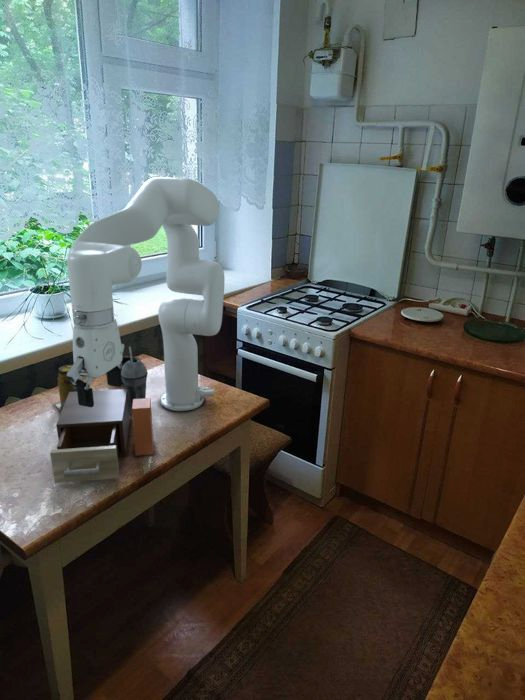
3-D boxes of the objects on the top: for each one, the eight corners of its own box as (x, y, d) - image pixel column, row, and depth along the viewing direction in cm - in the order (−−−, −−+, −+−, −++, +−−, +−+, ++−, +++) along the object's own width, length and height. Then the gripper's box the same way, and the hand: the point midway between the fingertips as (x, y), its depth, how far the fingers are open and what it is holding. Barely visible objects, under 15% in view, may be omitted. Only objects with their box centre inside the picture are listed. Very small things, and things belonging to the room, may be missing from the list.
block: (153, 443, 126) (150, 397, 121) (153, 454, 121) (150, 407, 117) (136, 444, 125) (133, 398, 120) (135, 455, 121) (131, 408, 116)
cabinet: (125, 455, 121) (122, 420, 117) (61, 460, 118) (56, 424, 114) (129, 420, 136) (127, 388, 132) (73, 424, 133) (69, 391, 130)
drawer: (117, 491, 107) (114, 460, 104) (50, 496, 104) (45, 465, 101) (124, 440, 125) (121, 413, 122) (67, 444, 123) (63, 416, 120)
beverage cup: (154, 407, 143) (151, 342, 136) (141, 418, 137) (136, 352, 129) (132, 402, 146) (128, 339, 138) (118, 413, 139) (112, 348, 132)
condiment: (80, 398, 147) (75, 361, 142) (91, 409, 141) (86, 371, 136) (55, 405, 143) (49, 367, 138) (65, 417, 137) (60, 378, 132)
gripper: (81, 332, 87) (90, 418, 93) (134, 306, 102) (139, 381, 108) (46, 326, 89) (57, 410, 95) (103, 302, 104) (109, 376, 110)
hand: (101, 395), depth 102 cm, fingers open, 9 cm apart
